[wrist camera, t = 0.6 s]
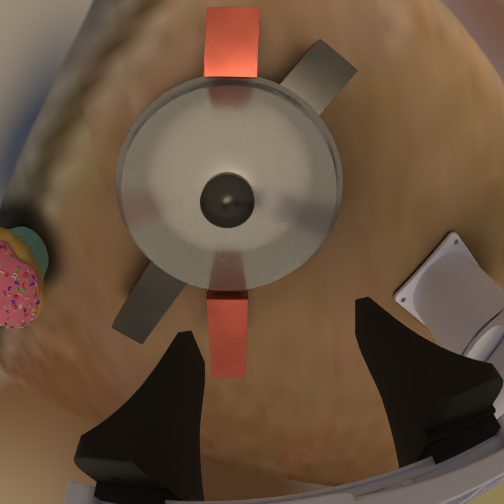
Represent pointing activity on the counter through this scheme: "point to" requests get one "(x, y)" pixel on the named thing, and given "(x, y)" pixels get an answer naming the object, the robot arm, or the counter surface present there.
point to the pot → (290, 88)
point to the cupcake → (21, 276)
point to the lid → (228, 186)
